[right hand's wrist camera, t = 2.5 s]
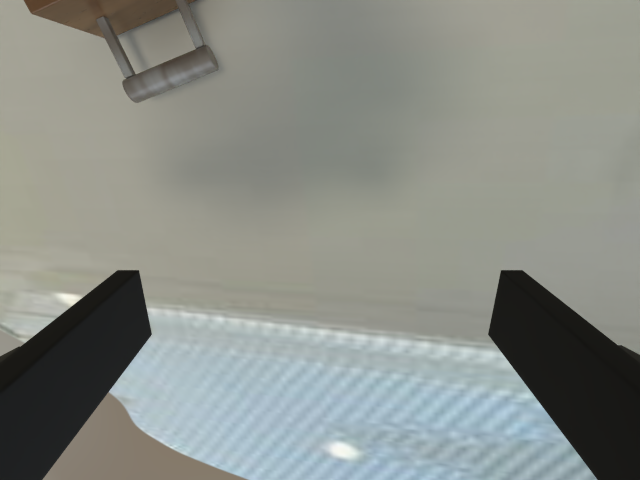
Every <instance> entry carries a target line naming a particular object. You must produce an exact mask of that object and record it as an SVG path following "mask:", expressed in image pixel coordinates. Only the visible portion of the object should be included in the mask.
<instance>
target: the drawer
mask: <svg viewBox="0 0 640 480" xmlns="http://www.w3.org/2000/svg"><path fill="white" fill-rule="evenodd" d="M194 1H196V0H24V2H25V3H26V5H27V7H28V9H29V11H30V12H31V13H32V14H34V15H37V16H40V17H43V18H46V19H49V20H52V21H55V22H58V23H61V24H64V25H67V26H70V27H73V28H76V29H79V30H82V31H85V32H88V33H91V34H94V35H97V36H100V37H103V38H105V39H106V41H107V43H108V45H109V47H110V49H111V51H112V53H113V55H114V57H115V59H116V61H117V63H118V65H119V67H120V69H121V71H122V73H123V75H124V77H125V78H127V79H124V80H123V87H124V90H125V92H126V94H127V95H128V96H129V98H130V99H131V100H132V101H134V102H135V103H139V102H141V101H144V100H146V99H148V98H151V97H153V96H156V95H158V94H161V93H163V92H165V91H168V90H170V89H173V88H175V87H178V86H180V85H183V84H185V83H187V82H190V81H192V80H195V79H197V78H200V77H202V76H204V75H207V74H209V73H212V72H214V71H217V70H218V63H217V61H216V58H215V56H214V54H213V52H212V50H211V49H210V47H209V46H208V45H205V43H204V41H203V38H202V36H201V33H200V31H199V29H198V26H197V24H196V21H195V19H194V16H193V14H192V12H191V9H190V7H189V3H191V2H194ZM178 8H179V10H180V13H181V15H182V17H183V20H184V22H185V24H186V27H187V29H188V31H189V34H190V36H191V38H192V41H193V43H194V45H195V48H197V49H195V50H193V51H191V52H188V53H186V54H183V55H181V56H179V57H176V58H174V59H172V60H169V61H167V62H164V63H162V64H160V65H157V66H155V67H153V68H150V69H148V70H146V71H143V72H141V73H138V74H135V72H134V70H133V68H132V66H131V64H130V62H129V60H128V58H127V56H126V54H125V52H124V50H123V48H122V46H121V44H120V42H119V40H118V37H117V35H119V34H121V33H123V32H126V31H128V30H130V29H132V28H135V27H137V26H139V25H142V24H144V23H146V22H148V21H151V20H153V19H155V18H157V17H160V16H162V15H164V14H166V13H169V12H171V11H173V10H176V9H178Z"/></svg>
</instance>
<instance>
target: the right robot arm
mask: <svg viewBox="0 0 640 480" xmlns="http://www.w3.org/2000/svg"><path fill="white" fill-rule="evenodd" d="M151 335H152V333H151V328H150V323H149V319H148V314H147V309H146V304H145V299H144V294H143V289H142V284H141V279H140V274H139V270H118V271H116V272H115V273H114V274H112V275H111V276H110V277H109V278H107V279H106V280H105V281H104V282H102V283H101V284H100V285H98V286H97V287H96V288H95V289H93V290H92V291H91V292H90V293H88V294H87V295H86V296H84V297H83V298H82V299H81V300H79V301H78V302H77V303H76V304H74V305H73V306H72V307H70V308H69V309H68V310H67V311H65V312H64V313H63V314H62V315H60V316H59V317H58V318H56V319H55V320H54V321H53V322H51V323H50V324H49V325H48V326H46V327H45V328H44V329H43V330H41V331H40V332H39V333H37V334H36V335H35V336H34V337H32V338H31V339H30V340H29V341H27V342H26V343H25V344H23V345H22V346H21V347H17V348H15V349H13V350H12V351H10V352H8V353H6V354H4V355H2V356H0V480H42V479H43V478H44V477H45V475H46V474H47V473H48V471H49V470H50V469H51V467H52V466H53V465H54V463H55V462H56V461H57V459H58V458H59V457H60V455H61V454H62V453H63V451H64V450H65V449H66V448H67V446H68V445H69V444H70V442H71V441H72V440H73V438H74V437H75V436H76V434H77V433H78V432H79V430H80V429H81V428H82V426H83V425H84V424H85V422H86V421H87V420H88V418H89V417H90V416H91V414H92V413H93V412H94V410H95V409H96V408H97V406H98V405H99V404H100V402H101V401H102V400H103V398H104V397H105V396H106V394H107V393H108V392H109V390H110V389H111V388H112V387H113V385H114V384H115V383H116V381H117V380H118V379H119V377H120V376H121V375H122V373H123V372H124V371H125V369H126V368H127V367H128V365H129V364H130V363H131V361H132V360H133V359H134V357H135V356H136V355H137V353H138V352H139V351H140V349H141V348H142V347H143V345H144V344H145V343H146V341H147V340H148V339H149V337H150V336H151ZM488 335H489V336H490V337H491V339H492V340H493V341H494V343H495V344H496V345H497V347H498V348H499V349H500V351H501V352H502V353H503V355H504V356H505V357H506V359H507V360H508V361H509V363H510V364H511V365H512V367H513V368H514V369H515V371H516V372H517V373H518V375H519V376H520V377H521V379H522V380H523V381H524V383H525V384H526V385H527V387H528V388H529V389H530V390H531V392H532V393H533V394H534V396H535V397H536V398H537V400H538V401H539V402H540V404H541V405H542V406H543V408H544V409H545V410H546V412H547V413H548V414H549V416H550V417H551V418H552V420H553V421H554V422H555V424H556V425H557V426H558V428H559V429H560V430H561V432H562V433H563V434H564V436H565V437H566V438H567V440H568V441H569V442H570V444H571V445H572V446H573V448H574V449H575V450H576V451H577V453H578V454H579V455H580V457H581V458H582V459H583V461H584V462H585V463H586V465H587V466H588V467H589V469H590V470H591V471H592V473H593V474H594V475H595V477H596V478H597V479H598V480H640V355H639V354H637V353H635V352H633V351H631V350H629V349H627V348H626V347H624V346H622V345H617V344H615V343H614V342H613V341H611V340H610V339H609V338H608V337H606V336H605V335H604V334H603V333H601V332H600V331H599V330H597V329H596V328H595V327H594V326H592V325H591V324H590V323H589V322H587V321H586V320H585V319H584V318H582V317H581V316H580V315H578V314H577V313H576V312H575V311H573V310H572V309H571V308H570V307H568V306H567V305H566V304H564V303H563V302H562V301H561V300H559V299H558V298H557V297H556V296H554V295H553V294H552V293H550V292H549V291H548V290H547V289H545V288H544V287H543V286H542V285H540V284H539V283H538V282H536V281H535V280H534V279H533V278H531V277H530V276H529V275H528V274H526V273H525V272H524V271H522V270H501V274H500V279H499V284H498V289H497V294H496V299H495V304H494V309H493V314H492V318H491V323H490V328H489V333H488Z"/></svg>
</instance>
